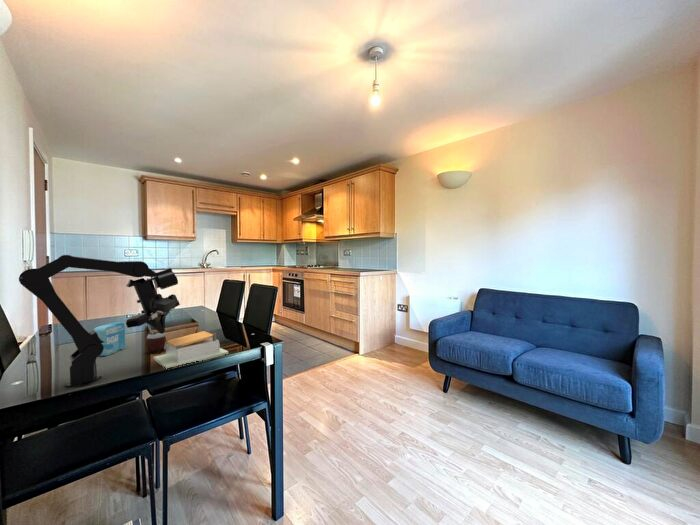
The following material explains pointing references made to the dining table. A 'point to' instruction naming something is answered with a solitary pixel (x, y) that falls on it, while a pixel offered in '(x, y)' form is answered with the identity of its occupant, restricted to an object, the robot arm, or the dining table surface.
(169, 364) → the board
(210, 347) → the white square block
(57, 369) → the dining table surface
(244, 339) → the dining table surface
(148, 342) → the mate gourd
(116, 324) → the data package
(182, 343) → the thin wooden panel
